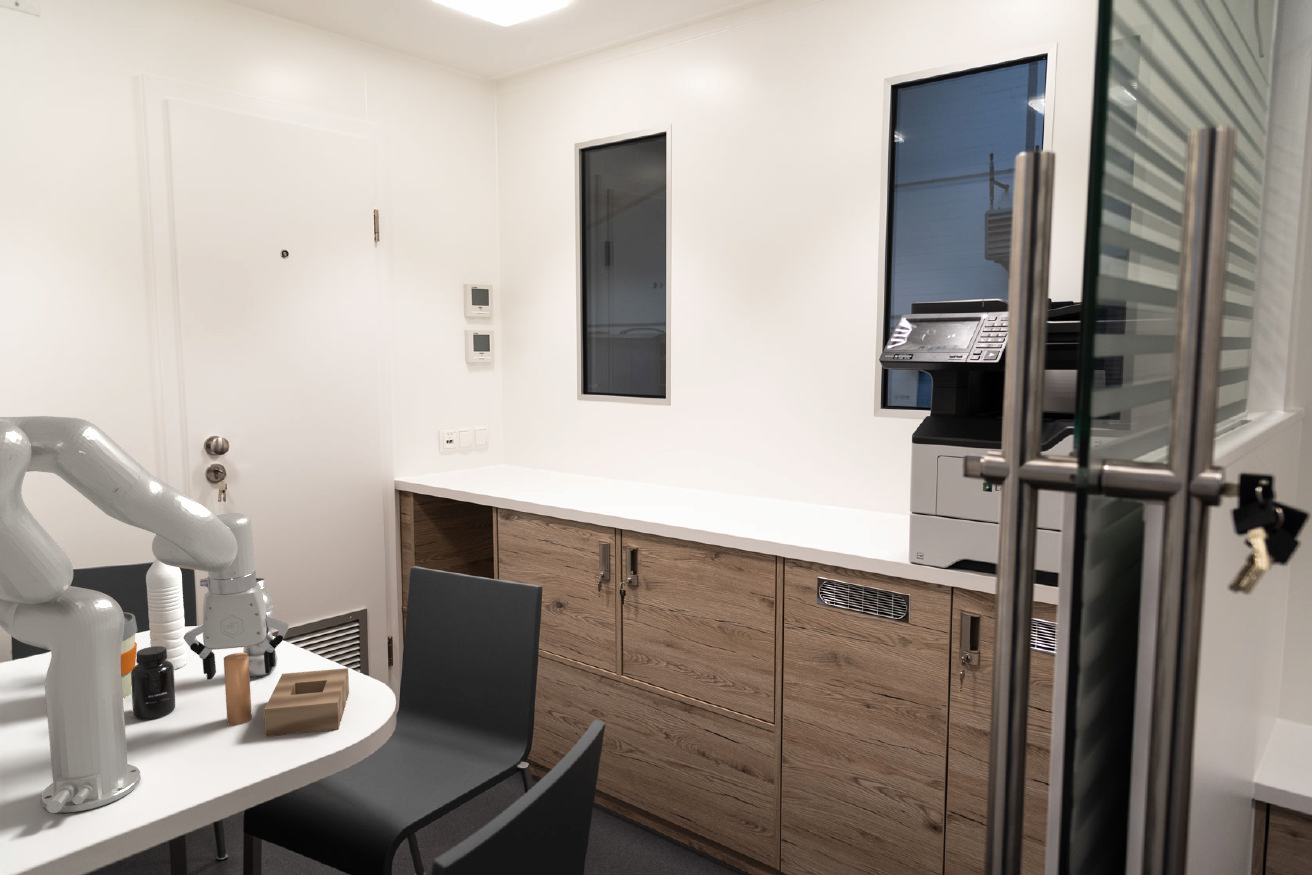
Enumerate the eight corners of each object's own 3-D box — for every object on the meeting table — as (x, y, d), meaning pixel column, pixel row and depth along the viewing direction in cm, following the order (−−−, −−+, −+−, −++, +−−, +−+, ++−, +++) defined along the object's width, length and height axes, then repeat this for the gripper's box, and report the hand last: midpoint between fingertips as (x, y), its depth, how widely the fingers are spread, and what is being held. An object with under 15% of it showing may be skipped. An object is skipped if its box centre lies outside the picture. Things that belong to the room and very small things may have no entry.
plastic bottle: (284, 671, 174) (279, 578, 172) (254, 682, 168) (248, 586, 166) (266, 665, 177) (261, 573, 175) (235, 675, 172) (230, 581, 169)
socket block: (338, 729, 148) (337, 702, 148) (265, 736, 146) (264, 709, 145) (349, 692, 164) (348, 668, 163) (283, 698, 161) (282, 673, 160)
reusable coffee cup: (56, 697, 161) (50, 622, 160) (130, 678, 170) (125, 607, 169) (73, 717, 153) (67, 638, 151) (150, 695, 162) (145, 621, 160)
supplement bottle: (156, 722, 151) (151, 658, 149) (124, 718, 152) (119, 655, 151) (184, 706, 157) (180, 645, 156) (153, 702, 159) (149, 642, 157)
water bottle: (189, 666, 176) (182, 551, 173) (154, 674, 172) (146, 556, 169) (182, 654, 183) (175, 543, 180) (148, 661, 179) (140, 548, 176)
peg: (248, 723, 150) (245, 659, 149) (224, 726, 149) (221, 661, 148) (253, 714, 154) (250, 651, 153) (230, 716, 153) (226, 653, 152)
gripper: (172, 593, 143) (181, 687, 146) (280, 585, 148) (287, 676, 150) (186, 580, 151) (194, 670, 153) (288, 572, 155) (295, 660, 157)
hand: (240, 673), depth 152 cm, fingers open, 9 cm apart
